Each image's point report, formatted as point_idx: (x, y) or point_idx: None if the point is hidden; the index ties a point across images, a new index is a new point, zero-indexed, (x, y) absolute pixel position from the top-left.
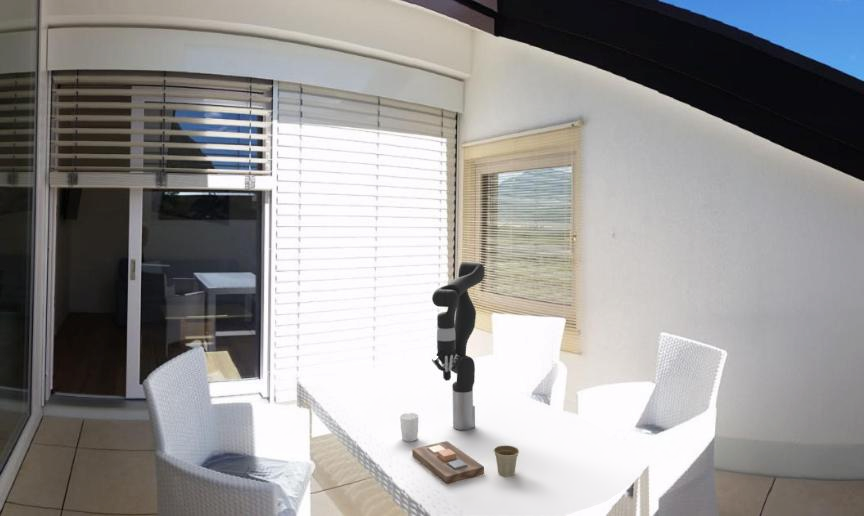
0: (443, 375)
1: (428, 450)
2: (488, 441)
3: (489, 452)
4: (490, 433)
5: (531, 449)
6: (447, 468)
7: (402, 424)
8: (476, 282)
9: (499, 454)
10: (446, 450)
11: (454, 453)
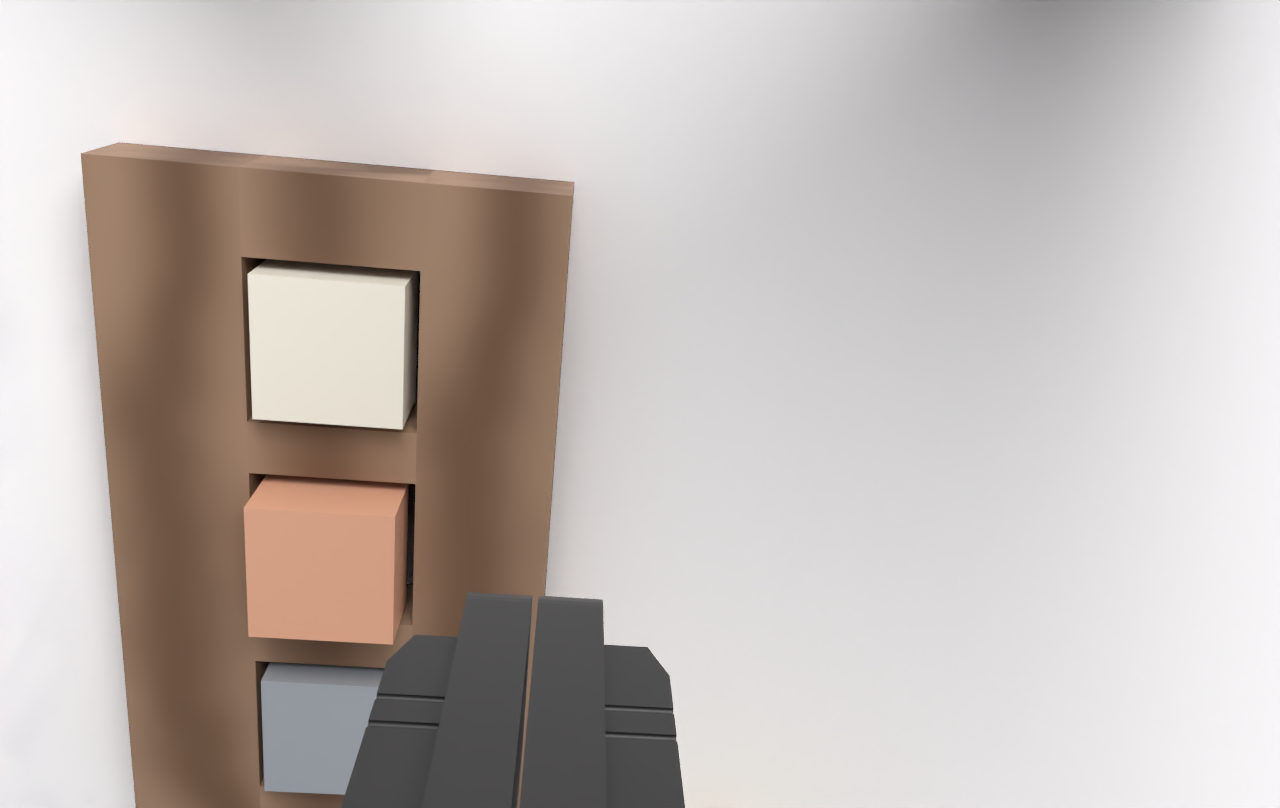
0: (369, 741)
1: (240, 303)
2: (1050, 301)
3: (859, 516)
4: (1242, 129)
5: (1200, 667)
6: (221, 733)
7: None
8: None
9: None
10: (344, 539)
11: (380, 638)
